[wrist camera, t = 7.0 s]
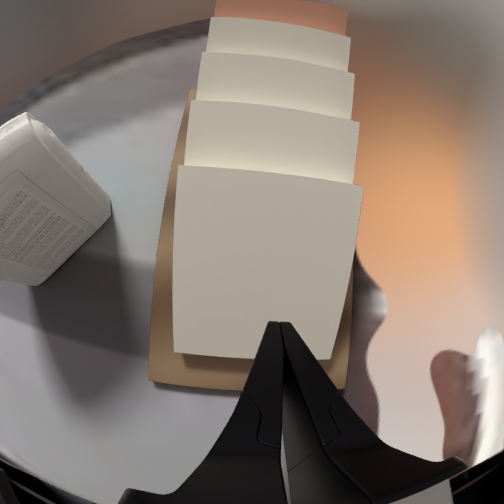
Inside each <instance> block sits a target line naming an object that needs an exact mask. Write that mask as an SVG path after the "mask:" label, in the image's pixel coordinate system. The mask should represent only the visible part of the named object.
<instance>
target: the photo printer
mask: <svg viewBox="0 0 504 504" xmlns="http://www.w3.org/2000/svg"><path fill="white" fill-rule="evenodd" d="M110 210H111V203H110V199H109V197H108V195H107V193H106V192H105V191H104V190H103V189H102V188H101V187H100V186H99V184H98V183H97V182H96V181H95V180H94V179H93V178H92V177H91V176H90V174H89V173H88V172H87V171H86V170H85V169H84V168H83V167H82V166H81V165H80V163H79V162H78V161H77V160H76V159H75V158H74V156H73V155H72V154H71V153H70V152H69V151H68V150H67V148H66V147H65V146H64V145H63V144H62V143H61V141H60V140H59V139H58V138H57V137H56V136H55V134H54V133H53V132H52V131H51V130H50V129H49V128H48V127H47V126H46V125H44V124H43V123H41V122H39V121H37V120H36V119H35V118H34V117H33V116H32V115H31V114H29V113H28V112H25V113H23V114H21V115H19V116H17V117H15V118H13V119H12V120H10V121H8V122H7V123H5V124H4V125H2V126H1V127H0V280H5V281H10V282H15V283H20V284H25V285H30V286H37V285H40V284H41V283H42V282H44V281H45V280H46V279H47V278H48V277H50V276H51V275H52V274H53V273H54V272H55V271H56V270H57V269H58V268H59V267H60V266H61V265H62V264H63V263H64V262H65V261H66V260H67V259H68V258H69V257H70V256H71V255H72V254H73V253H74V252H75V251H76V250H77V249H78V248H79V247H80V246H81V245H82V244H83V243H84V242H85V241H86V240H87V239H89V238H90V237H91V236H92V235H93V234H94V233H95V232H96V231H97V230H98V229H99V228H100V227H101V226H102V225H103V224H104V223H105V222H106V221H107V219H108V218H109V217H110V215H111V212H110Z"/></svg>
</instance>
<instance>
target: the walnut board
mask: <svg viewBox="0 0 504 504" xmlns="http://www.w3.org/2000/svg"><path fill="white" fill-rule="evenodd" d="M196 93H197V89H190V92H189V96H188V100H187V103H186V107H185V111H184V115H183V118H182V122H181V126H180V130H179V135H178V139H177V143H176V148H175V152H174V157H173V161H172V166H171V171H170V176H169V181H168V187H167V192H166V198H165V203H164V209H163V216H162V222H161V229H160V235H159V243H158V250H157V258H156V267H155V276H154V286H153V297H152V310H151V325H150V345H149V381H155V382H161V383H168V384H175V385H182V386H191V387H200V388H211V389H223V390H240V391H243V388H244V385H245V383H246V380H247V377H248V375H249V372H250V369H251V367H252V364H253V361H254V359H248V358H231V357H218V356H206V355H196V354H187V353H178V352H174V341H173V293H172V286H173V238H174V217H175V200H176V186H177V174H178V165H184V159H185V148H186V138H187V129H188V120H189V112H190V104H191V100H196ZM352 293H353V263H352V268H351V273H350V278H349V283H348V288H347V293H346V298H345V302H344V307H343V311H342V315H341V319H340V323H339V328H338V332H337V335H336V339H335V343H334V347H333V350H332V354H331V358H330V359H322V360H317V361H318V362H319V363H320V365H321V366H322V368H323V369H324V371H325V372H326V373H327V375H328V376H329V378H330V379H331V380H332V382H333V383H334V385H335V386H336V388H337V389H345V384H346V376H347V367H348V357H349V346H350V332H351V316H352Z"/></svg>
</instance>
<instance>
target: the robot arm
mask: <svg viewBox="0 0 504 504" xmlns="http://www.w3.org/2000/svg"><path fill="white" fill-rule="evenodd" d="M282 433H283V440H284V448H285V456H286V463H287V471H288V480H289V488H290V496H291V504H504V449H503V450H501V451H500V452H498V453H497V454H495V455H493V456H492V457H490V458H488V459H486V460H485V461H483V462H481V463H479V464H477V465H475V466H474V467H472V468H470V469H468V470H466V471H464V472H462V471H463V470H465V469H467V468H468V467H469V466H468V464H467V463H466V462H465V461H464V460H462V459H460V458H459V457H457V456H453V457H450V458H448V459H446V460H444V461H441V462H432V461H428V460H425V459H422V458H419V457H416V456H414V455H411V454H408V453H405V452H403V451H400V450H398V449H395V448H393V447H391V446H389V445H387V444H386V443H384V442H383V441H382V440H380V438H379V437H378V436H377V435H376V434H375V433H374V432H373V431H372V430H371V429H370V428H369V427H368V426H367V425H366V424H365V422H364V421H363V420H362V419H361V418H360V417H359V416H358V415H357V414H356V412H355V411H354V410H353V409H352V408H351V407H350V405H349V404H348V403H347V401H346V400H345V399H344V397H343V396H342V395H341V393H340V392H339V390H337V388H336V386H335V385H334V383H333V382H332V380H331V379H330V378H329V376H328V375H327V373H326V372H325V371H324V369H323V368H322V366H321V365H320V363H319V362H318V361H317V359H316V358H315V356H314V355H313V353H312V352H311V351H310V349H309V348H308V346H307V345H306V343H305V342H304V341H303V339H302V338H301V336H300V335H299V333H298V332H297V331H296V329H295V328H294V326H293V325H292V323H291V322H285V321H281V322H278V321H268V323H267V325H266V328H265V331H264V334H263V337H262V339H261V342H260V345H259V348H258V350H257V353H256V356H255V359H254V361H253V364H252V367H251V369H250V372H249V375H248V377H247V380H246V383H245V385H244V388H243V391H242V393H241V395H240V398H239V401H238V403H237V405H236V407H235V410H234V412H233V414H232V416H231V417H230V419H229V421H228V423H227V425H226V426H225V428H224V429H223V431H222V433H221V434H220V436H219V437H218V439H217V441H216V442H215V444H214V445H213V447H212V449H211V450H210V452H209V453H208V455H207V456H206V457H205V459H204V460H203V461H202V462H201V464H200V465H199V466H198V467H197V468H196V469H195V471H194V472H193V473H192V474H191V475H190V476H189V477H188V478H187V479H186V480H185V482H184V483H183V484H182V485H181V486H180V487H179V488H178V489H177V490H176V491H174V492H172V493H170V494H165V495H163V494H155V493H150V492H146V491H141V490H136V489H131V488H127V489H126V490H125V491H124V493H123V495H122V497H121V499H120V500H119V503H118V504H288V502H287V497H286V491H285V485H284V479H283V474H282V468H281V450H280V449H281V438H282ZM460 472H462V473H461V474H459V475H457V476H455V477H453V478H451V479H449V478H450V477H452V476H454V475H456V474H458V473H460ZM0 504H96V503H94V502H91V501H88V500H86V499H83V498H81V497H78V496H76V495H73V494H71V493H69V492H66V491H64V490H62V489H60V488H58V487H56V486H53V485H51V484H49V483H47V482H45V481H43V480H41V479H39V478H37V477H35V476H33V475H32V474H30V473H28V472H26V471H24V470H22V469H20V468H18V467H16V466H14V465H12V464H10V463H8V462H6V461H5V460H3V459H1V458H0Z"/></svg>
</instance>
